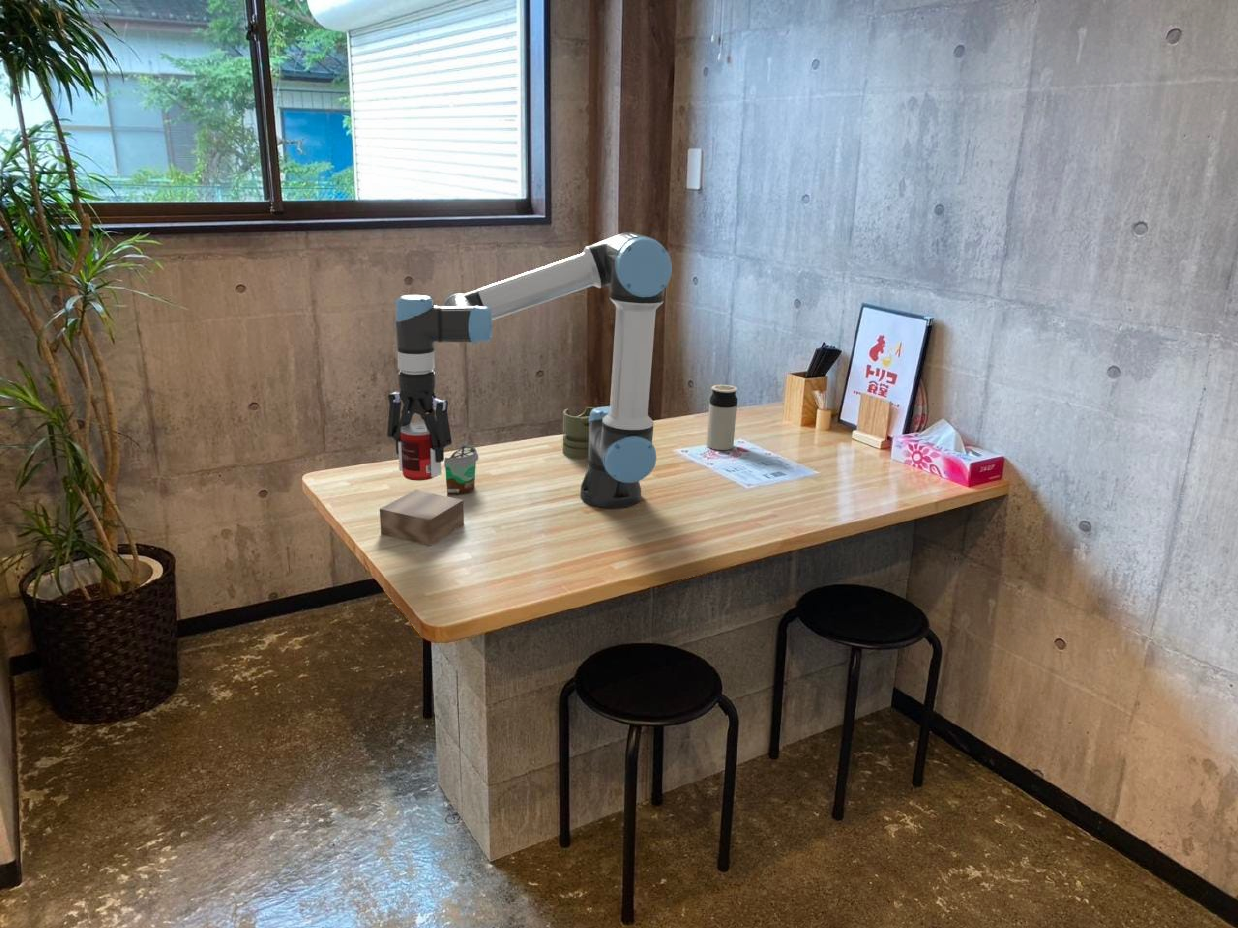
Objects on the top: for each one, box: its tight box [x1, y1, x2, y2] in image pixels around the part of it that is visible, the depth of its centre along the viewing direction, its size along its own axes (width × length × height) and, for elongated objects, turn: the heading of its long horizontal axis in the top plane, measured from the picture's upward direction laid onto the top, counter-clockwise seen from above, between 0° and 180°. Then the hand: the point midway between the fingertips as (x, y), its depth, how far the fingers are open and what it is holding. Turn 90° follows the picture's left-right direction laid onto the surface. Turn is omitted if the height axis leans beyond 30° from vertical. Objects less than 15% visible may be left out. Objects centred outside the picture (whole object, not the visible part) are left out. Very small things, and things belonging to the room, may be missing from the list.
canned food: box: [401, 421, 434, 482], centre depth 191 cm, size 8×8×11 cm
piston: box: [562, 406, 595, 460], centre depth 249 cm, size 11×12×11 cm
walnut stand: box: [379, 489, 465, 547], centre depth 197 cm, size 13×13×6 cm
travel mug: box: [706, 384, 738, 451], centre depth 257 cm, size 8×8×18 cm
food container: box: [443, 443, 480, 496], centre depth 219 cm, size 12×6×10 cm, turn 168°
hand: (420, 471), depth 193 cm, fingers closed on canned food, 8 cm apart
